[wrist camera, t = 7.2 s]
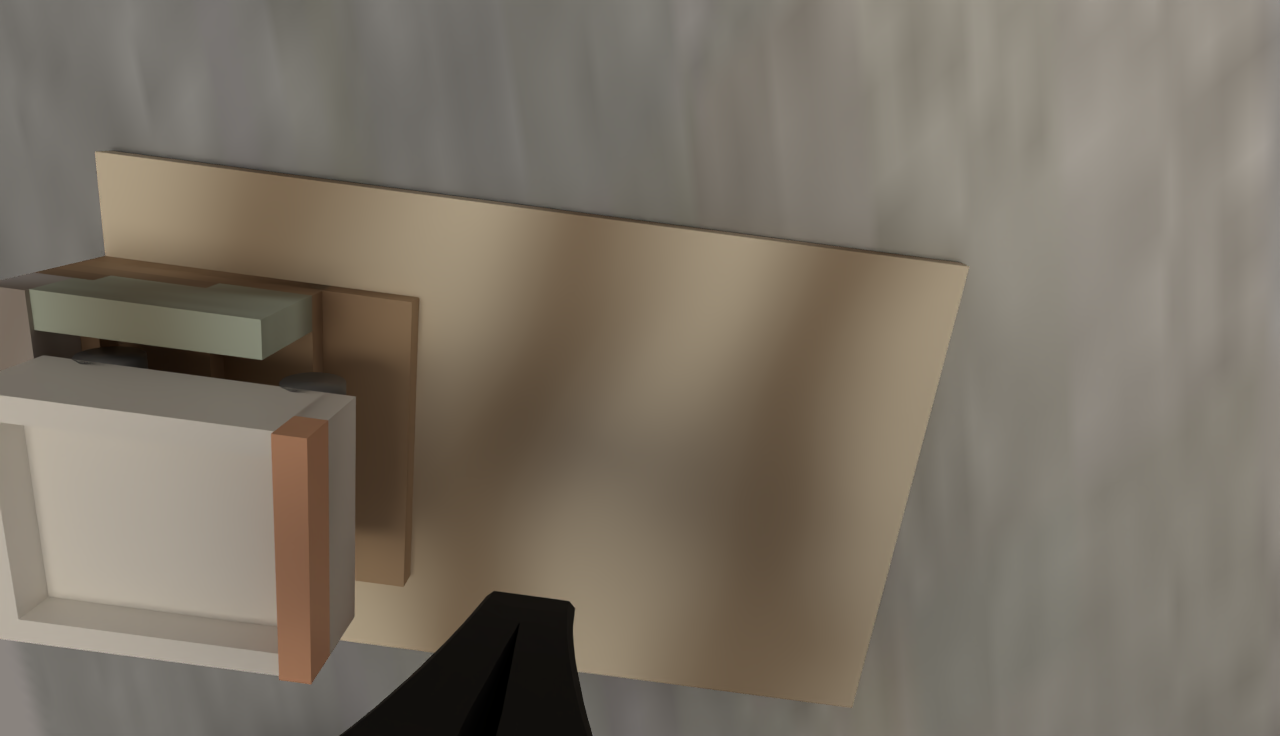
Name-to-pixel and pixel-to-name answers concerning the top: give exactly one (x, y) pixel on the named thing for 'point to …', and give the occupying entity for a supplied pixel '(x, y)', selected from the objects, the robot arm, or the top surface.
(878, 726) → the top surface
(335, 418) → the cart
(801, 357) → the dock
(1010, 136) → the top surface
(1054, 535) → the top surface
